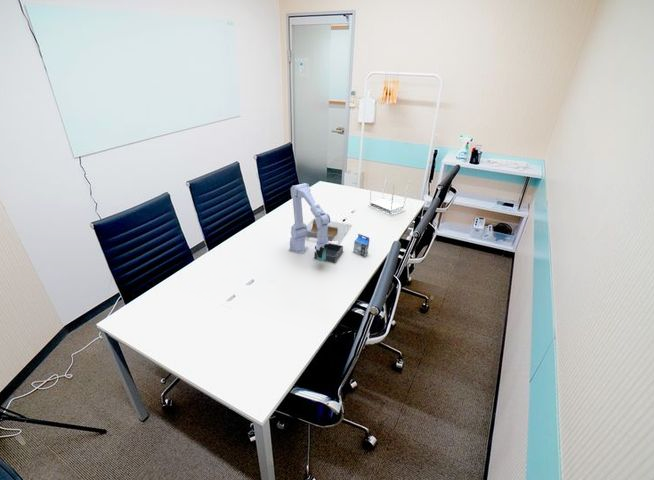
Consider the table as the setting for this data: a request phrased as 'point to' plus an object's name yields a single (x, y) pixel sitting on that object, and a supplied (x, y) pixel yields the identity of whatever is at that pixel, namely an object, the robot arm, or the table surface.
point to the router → (387, 203)
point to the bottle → (322, 255)
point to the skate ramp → (333, 233)
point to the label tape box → (361, 245)
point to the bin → (332, 252)
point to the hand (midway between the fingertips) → (321, 255)
